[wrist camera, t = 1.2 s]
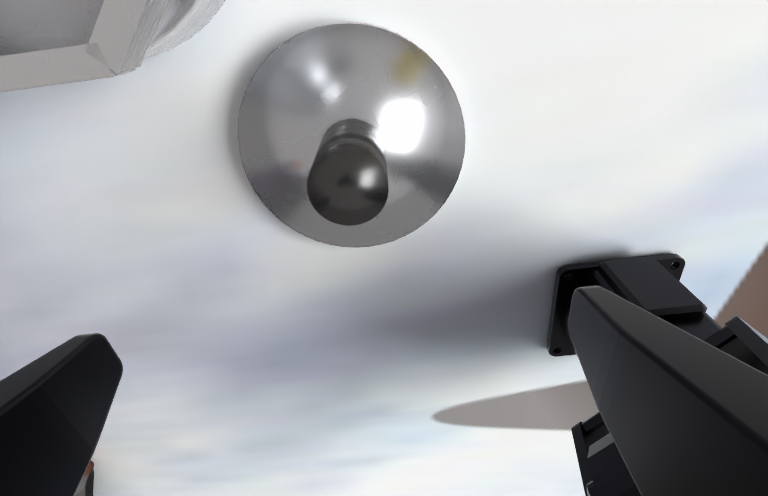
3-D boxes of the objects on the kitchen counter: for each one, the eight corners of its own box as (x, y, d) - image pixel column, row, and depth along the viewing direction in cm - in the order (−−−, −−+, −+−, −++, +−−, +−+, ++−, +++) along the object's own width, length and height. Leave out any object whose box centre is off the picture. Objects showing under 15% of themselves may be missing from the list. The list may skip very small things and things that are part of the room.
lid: (461, 223, 21) (485, 285, 16) (277, 244, 21) (251, 310, 17) (458, 5, 15) (491, 8, 11) (214, 39, 16) (153, 55, 11)
